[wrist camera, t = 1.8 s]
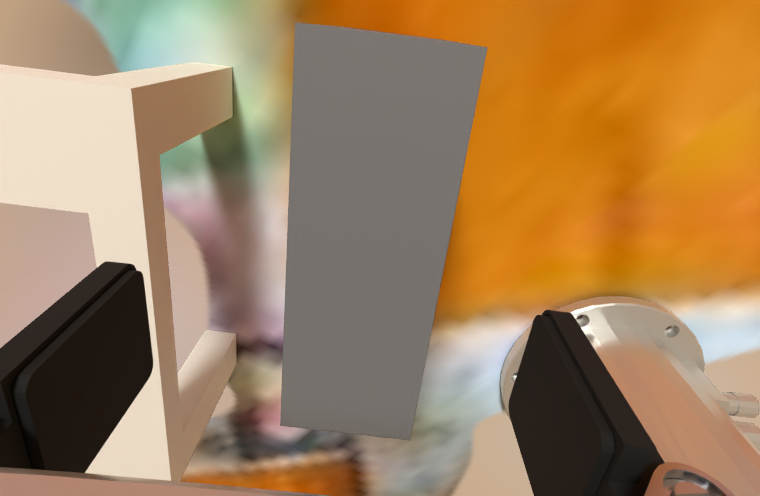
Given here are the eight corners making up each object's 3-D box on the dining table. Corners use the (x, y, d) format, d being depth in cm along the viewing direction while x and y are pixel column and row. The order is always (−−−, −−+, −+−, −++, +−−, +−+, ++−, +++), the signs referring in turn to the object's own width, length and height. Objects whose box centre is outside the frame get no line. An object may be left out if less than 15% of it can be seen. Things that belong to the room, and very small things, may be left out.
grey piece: (343, 26, 23) (295, 22, 12) (444, 40, 23) (487, 47, 12) (324, 276, 29) (280, 425, 18) (404, 286, 29) (409, 440, 18)
